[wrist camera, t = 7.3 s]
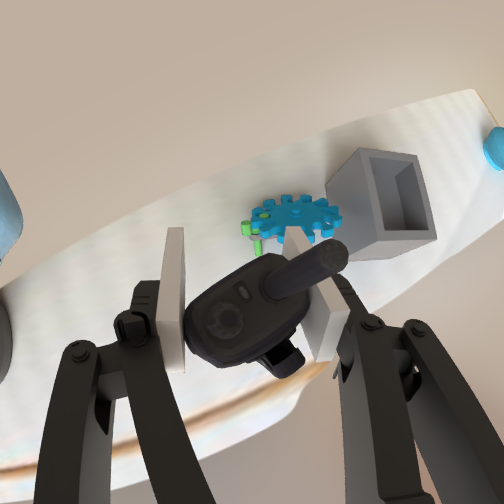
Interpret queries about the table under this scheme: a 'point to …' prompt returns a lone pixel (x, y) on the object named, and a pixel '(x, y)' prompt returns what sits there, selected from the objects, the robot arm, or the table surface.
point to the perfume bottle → (495, 148)
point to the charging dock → (381, 205)
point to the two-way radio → (260, 309)
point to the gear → (291, 219)
